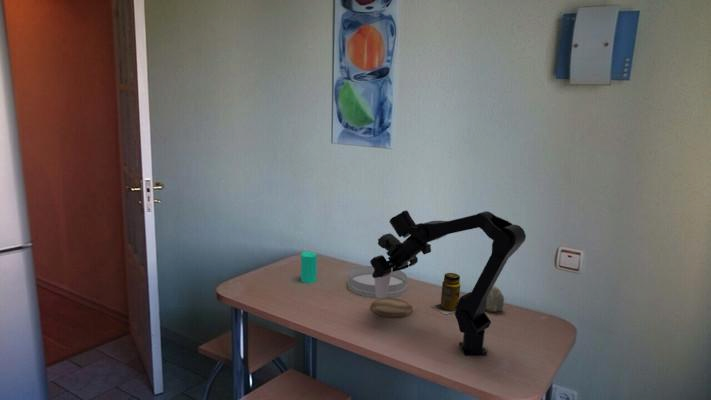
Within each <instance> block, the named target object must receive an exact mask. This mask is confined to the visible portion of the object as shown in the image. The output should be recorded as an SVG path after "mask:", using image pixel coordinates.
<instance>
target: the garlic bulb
mask: <svg viewBox="0 0 711 400" xmlns="http://www.w3.org/2000/svg"><path fill="white" fill-rule="evenodd" d="M504 302H505V297H504V295H503V293H502V290H501V289H500V288H499V287H497V286H496V285H494V286H493V288H492V289H491V291H490V293H489V295H488V297H487V299H486V309H485V310H486V311H488V312H500V311H502V309H503V308H504Z"/></svg>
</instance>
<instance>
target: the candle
mask: <svg viewBox="0 0 711 400" xmlns="http://www.w3.org/2000/svg"><path fill="white" fill-rule="evenodd" d="M300 255H301V262H300V265H301V266H300V281H301V282H302V283H305V284H312V283H315V282H317V265H318V264H317V263H318V254H317V253H314V252H311V251H310V250H309V251H303V252H301V254H300Z"/></svg>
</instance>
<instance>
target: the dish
mask: <svg viewBox="0 0 711 400" xmlns="http://www.w3.org/2000/svg"><path fill="white" fill-rule="evenodd" d="M373 272H374V271H373V266H372V265H363V266H360V267H355V268H354V269H352V270H351V271H349V274H348V282H347V283H348V284H347V287H348V289H349V291H351V292H352V293H354V294H356V295H358V296H362V297H363V298H364V297H365V298H369V299H370V298H371V299H379V298H378V297H376V291H375V278H373V276H372V274H373ZM407 281H408V277H407V274H406V273H405V272H403V271H402V270H398V271H394V272H392V273H391V278H390V283H389V289H388V294H387V297H386V298H397V297H400V296H402V295H404V294H405V293H406V292H407V289H408V288H407V285H408V284H407Z"/></svg>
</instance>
